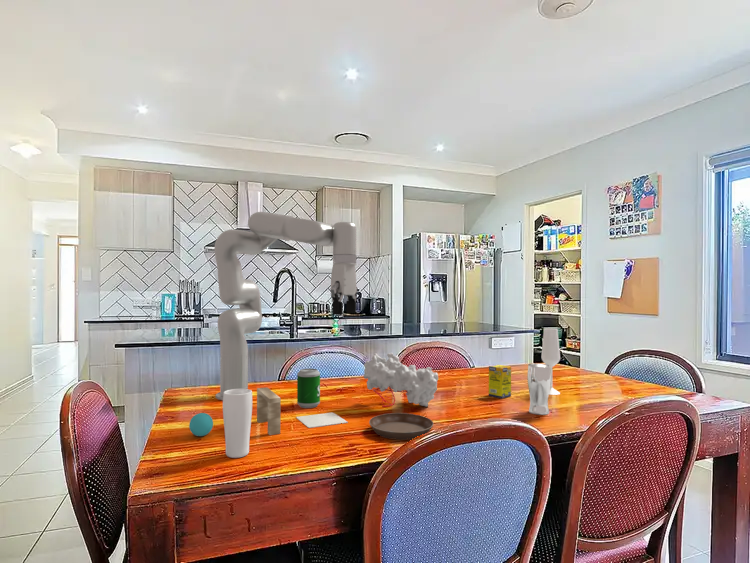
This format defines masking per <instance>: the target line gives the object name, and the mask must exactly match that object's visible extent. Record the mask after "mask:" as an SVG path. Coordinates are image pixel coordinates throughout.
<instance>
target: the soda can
mask: <svg viewBox="0 0 750 563" xmlns="http://www.w3.org/2000/svg"><path fill="white" fill-rule="evenodd" d="M296 378H297V380H296V384H297V386H296V388H297V389H296V390H297V391H296V398H297V399H296V400H297V401H296V402H297V406H299V407H300V408H301V409H313V408H316V407H318V405H320V403H321V372H320V371H319V370H318V368H317V369H316V368H301V369H300V370H299V371H298V372H297V377H296Z"/></svg>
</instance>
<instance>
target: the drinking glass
mask: <svg viewBox="0 0 750 563" xmlns="http://www.w3.org/2000/svg"><path fill="white" fill-rule="evenodd" d="M252 414H253V391H252V389H231V390H227V391H225V392H223V400H222V419H223V426H224V441H225V455H226V456H227V458H232V459H238V458H244V457H246V456H247V455H249V452H250V436H251V429H252V428H251V427H252V426H251V425H252V416H253V415H252Z"/></svg>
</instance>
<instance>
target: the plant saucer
mask: <svg viewBox="0 0 750 563" xmlns="http://www.w3.org/2000/svg"><path fill="white" fill-rule="evenodd" d="M368 423H369V425H370V427H371V428H372V430H373V432H375V433H376V434H377V435H378V436H379V435H380V437H381V438H385V439H389V440H390V439H391V440H401V441H402V440H403V441H404V440H413V439H412V438H415V437H417V436H420V435H422V434H425V433H427V432H428V433H429V432H430V431H431V430H432V428H433V427H434V422H433V420H431V419H430V418H428V417H426V416H423V415H419V414H414V413H407V412H393V413H383V414H379V415H375V416H373V417H371V418H370V419H369V421H368ZM428 433H427V434H428Z"/></svg>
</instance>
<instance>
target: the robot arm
mask: <svg viewBox="0 0 750 563" xmlns="http://www.w3.org/2000/svg"><path fill="white" fill-rule="evenodd" d="M247 225H248V228H249V230H250V231H247V230H243V229H227V230H225V231H222V232H221V233H220V234H219V235H218V237H217V239H216V240H215V243H214V258H215V262H216V268H217V279H218V280H217V281H218V282H217V283H218V290H219V291H218V292H219V298H220V301H221V302H222V303H223V305H227V306H239V308H230V309H226V310H224V311H223V312H221V313H220V315H219V316H218V318H217V330H218V335H219V344H220V345H219V350H220V351H219V352H220V354H219V355H220V356H219V358H220V359H219V360H220V361H219V362H220V363H219V364H220V370H219V371H220V372H219V374H220V378H219V379H220V380H219V381H220V383H219V384H220V385H219V389H220V390H219V391H220V392H217V393H216V394H215V399H217V400H220V401H223V392H225V391H227V390H231V389H248V388H249V376H248V375H249V346H248V342H247V340H246V337H245V335H248V334H254V333H256V332H257V331H258V330H260V328H261V327H262V323H263V312H262V299H261V293H260V288H259V286H258V285H257V283H256V282H255V281H254V280H251V279H248V278H247V279H246V278H244V277H243V268H242V264H241V261H240V259H239V257H238V256H237V255H238V254H239V255H248V256H254V255H258V254H260V253H262V252H263V251H265V250H266V249H267V248H269V247H270V246H271V245H272V244H274V243H275V242H277V240H282V241H286V242H288V241H292V242H293V241H294V242H297V243H303V244H309V245H315V246H323V247H332V269H331V278H330V294H331V295H330V296H331V298H332V299H331V302H332V315H337V316H341V315H343V312H344V311H343V310H344V309H343V301H342V300H343V297H346V299H347V300H346V307H345V308H346V309H345V310H346V314H356V312H357V309H356V308H357V296H358V293H357V292H358V287H357V272H356V271H357V270H356V266H357V225H356V224H355V223H354V222H351V221H338V222H335V223H334V224H332V223H331V224H330V223H326V222H322V221H318V220H313V219H308V218H307V219H305V218H301V217H299V218H298V217H295V216H292V215H286V214H279V213H273V212H266V211H257V212H254V213H252V214H251V215H250V217H249V218H248V222H247Z"/></svg>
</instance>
